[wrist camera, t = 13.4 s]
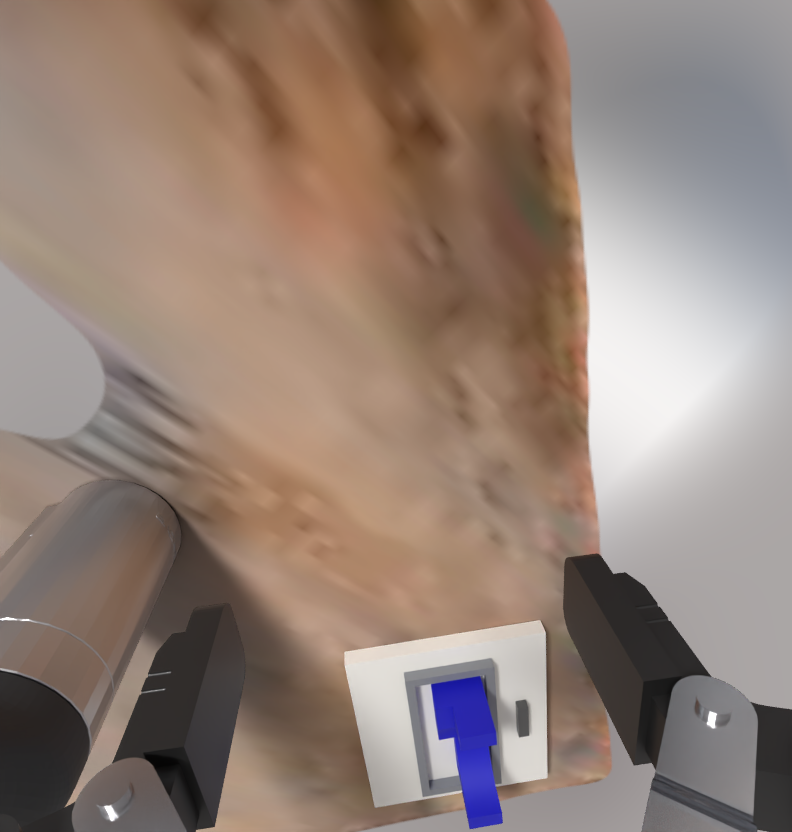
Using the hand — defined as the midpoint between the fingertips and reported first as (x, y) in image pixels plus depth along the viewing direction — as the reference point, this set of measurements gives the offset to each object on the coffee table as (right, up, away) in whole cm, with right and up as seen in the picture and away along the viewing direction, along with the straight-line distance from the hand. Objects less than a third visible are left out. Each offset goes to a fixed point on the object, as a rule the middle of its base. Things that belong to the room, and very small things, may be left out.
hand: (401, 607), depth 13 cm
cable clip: (+6, -24, +39) cm, 47 cm away
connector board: (+5, -24, +41) cm, 48 cm away
